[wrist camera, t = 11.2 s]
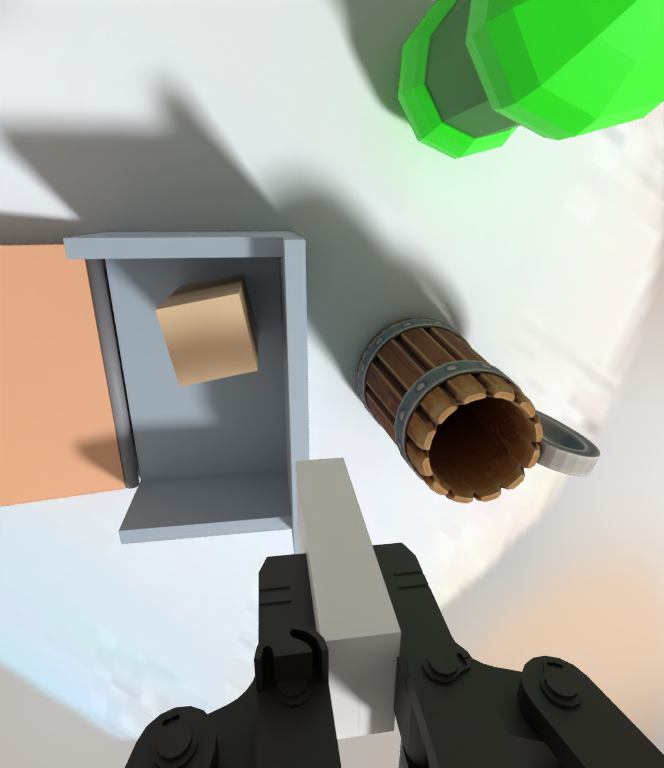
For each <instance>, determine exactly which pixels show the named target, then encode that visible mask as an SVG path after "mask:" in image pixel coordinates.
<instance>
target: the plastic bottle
mask: <svg viewBox="0 0 664 768" xmlns="http://www.w3.org/2000/svg"><path fill="white" fill-rule="evenodd" d="M398 100H399V102H400V104H401V106H402V109H403V111H404V113H405V115H406V117H407V119H408V121H409V123H410V125H411V127H412V129H413V131H414V134H415V136H416V138H417V140H418V141H420V142H422V143H424V144H426V145H428V146H430V147H432V148H434V149H436V150H438V151H440V152H442V153H444V154H446V155H448V156H450V157H452V158H454V159H456V158H460V157H463V156H467V155H471V154H474V153H478V152H482V151H485V150H489V149H493V148H496V147H500V146H502V145H503V144H504V143H505V141H506V140H507V139H508V138H509V137H510V135H511V134H512V133H513V132H514V131H515V129H516V128H517V127H518V126H520V125H522V126H524V127H526V128H528V129H529V130H531V131H533V132H535V133H537V134H539V135H540V136H542V137H545V138H550V139H555V140H561V139H565V138H570V137H574V136H578V135H581V134H585V133H589V132H592V131H596V130H600V129H603V128H607V127H611V126H614V125H618V124H622V123H625V122H629V121H633V120H636V119H640V118H643V117H645V116H646V115H647V114H648V113H649V112H651V111H652V110H653V109H654V108H655V107H657V106H658V105H659V104H660V103H661V102H663V101H664V0H437V1H436V2H435V3H434V4H433V6H432V7H431V8H430V10H429V11H428V12H427V14H426V15H425V16H424V18H423V19H422V20H421V22H420V23H419V24H418V26H417V27H416V28H415V30H414V31H413V33H412V34H411V35H410V37H409V38H408V39H407V41H406V42H405V43H404V45H403V48H402V58H401V68H400V78H399V88H398Z"/></svg>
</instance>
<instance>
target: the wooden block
mask: <svg viewBox="0 0 664 768" xmlns="http://www.w3.org/2000/svg"><path fill="white" fill-rule="evenodd" d="M155 311H156V314H157V317H158V321H159V324H160V327H161V330H162V333H163V336H164V339H165V343H166V346H167V349H168V352H169V355H170V358H171V361H172V365H173V368H174V371H175V374H176V377H177V380H178V383H179V387H182V386H187V385H191V384H196V383H201V382H206V381H210V380H215V379H220V378H225V377H229V376H234V375H239V374H244V373H248V372H253V371H258V332H257V327H256V323H255V319H254V315H253V311H252V307H251V302H250V298H249V294H248V290H247V286H246V281H245V277H244V274H241V275H235V276H230V277H225V278H220V279H215V280H210V281H205V282H199V283H194V284H189V285H184V286H179V287H178V288H177V289H176V290H175V291H174V292H173V293H172V294H171V295H170V296H169V297H168V298H167V299H166V300H165V301H164V302H163V303H162V304H161V305H160V306H159V307H158V308H157V309H156V310H155Z"/></svg>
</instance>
